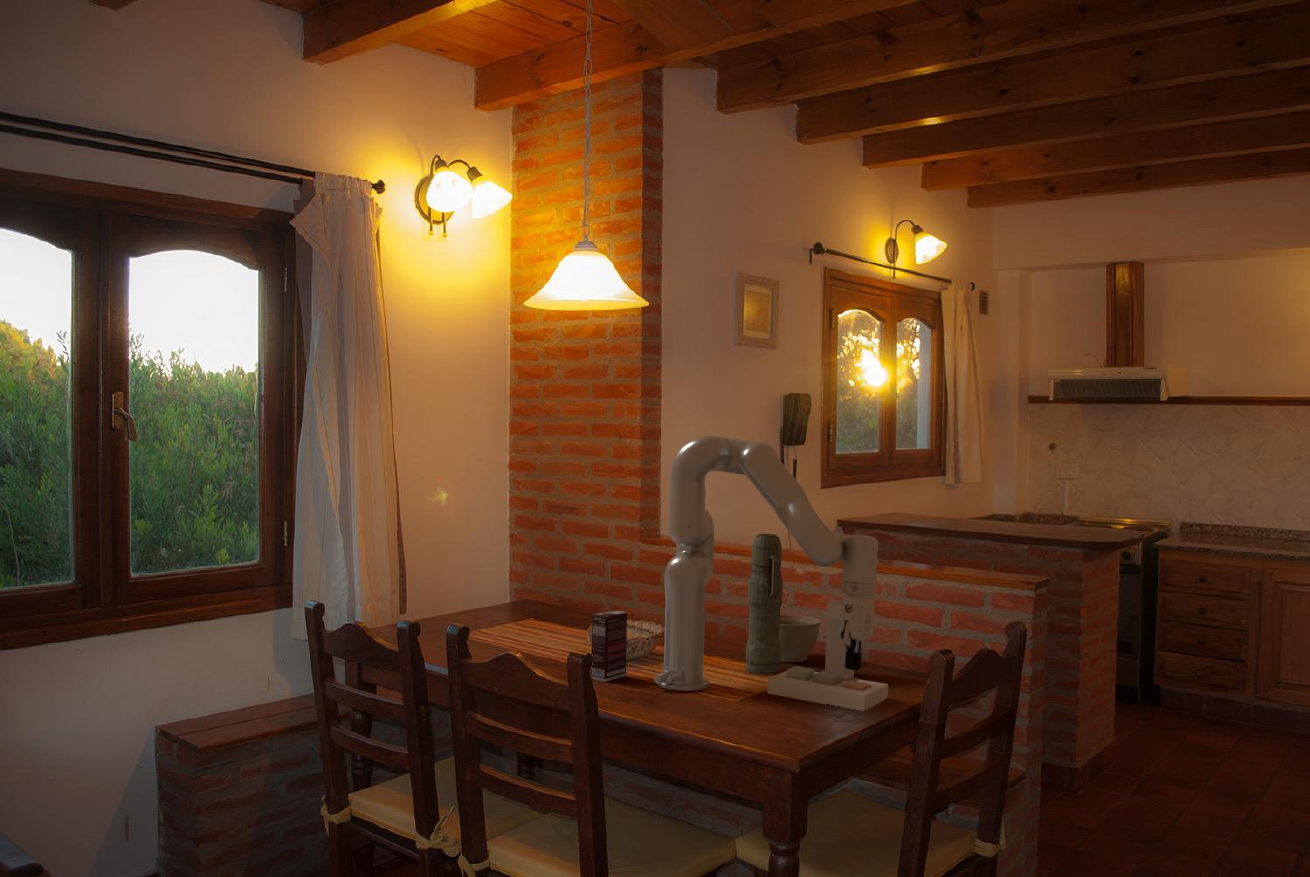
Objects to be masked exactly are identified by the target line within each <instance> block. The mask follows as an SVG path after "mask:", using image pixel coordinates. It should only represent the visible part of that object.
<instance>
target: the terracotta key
mask: <svg viewBox="0 0 1310 877" xmlns="http://www.w3.org/2000/svg"><path fill="white" fill-rule="evenodd" d="M841 687H844V688H849V689H855V690H861V691H864V690H866V689H868V688H870V687H871V684H867V683H861V682H855V681H848V682H846V683H844V684H842V685H841Z"/></svg>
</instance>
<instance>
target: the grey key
mask: <svg viewBox="0 0 1310 877" xmlns="http://www.w3.org/2000/svg"><path fill="white" fill-rule="evenodd" d="M818 672H819V673H816V674H814V676H813V682H816V683H822V684H827V685H833V686H835V685H837V684H840V683H842V674H838V673H832V672H826V671H825V670H821V671H818Z"/></svg>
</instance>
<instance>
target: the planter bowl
mask: <svg viewBox="0 0 1310 877" xmlns="http://www.w3.org/2000/svg"><path fill="white" fill-rule="evenodd" d="M820 625H821V620H820V619H818V618H815V617H810V616H806V615H805V616H804V615H803V616H802V615H797V614H780V629H779V641H780V644H781V662H785V663H794V662H796V663H802V662H806V661H807V660H808V656H809V654H810V653H811V652H812V650H813V649H814V648H815V645H816V643H817V640H818V637H819V633H820Z"/></svg>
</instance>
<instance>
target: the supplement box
mask: <svg viewBox="0 0 1310 877" xmlns="http://www.w3.org/2000/svg"><path fill="white" fill-rule="evenodd" d="M591 621H592V622H591V623H592V624H591V652H590V653H591V654H593V665H592V669H591V668H590V676H591V675H592V679H593V681H597V682H602V683H607V682H610V681H614V680H618V679H620V678H623V677H626V676H627V643H628V642H627V635H628V630H627V629H628V612H627V611H624V610H623V611H622V610H608V611H603V612H598V613H592V617H591ZM592 679H591V680H592Z"/></svg>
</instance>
